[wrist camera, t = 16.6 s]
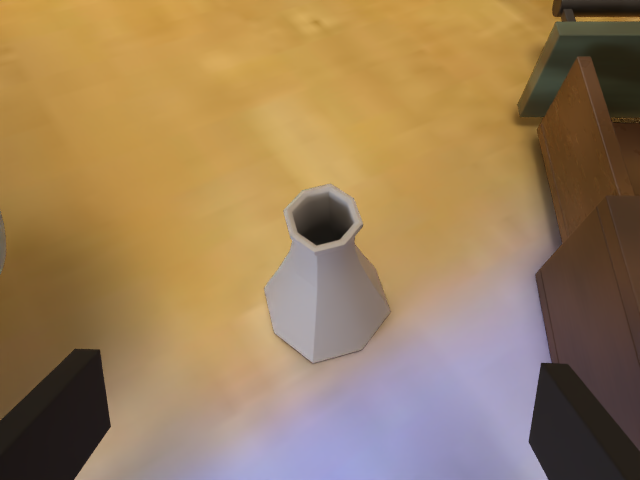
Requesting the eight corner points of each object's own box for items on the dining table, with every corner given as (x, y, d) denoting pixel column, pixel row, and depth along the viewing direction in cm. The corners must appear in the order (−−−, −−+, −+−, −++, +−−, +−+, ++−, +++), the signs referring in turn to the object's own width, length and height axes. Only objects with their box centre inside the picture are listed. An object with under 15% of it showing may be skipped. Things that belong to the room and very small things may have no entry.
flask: (308, 387, 27) (295, 333, 18) (244, 286, 30) (206, 196, 21) (411, 317, 29) (446, 236, 20) (341, 228, 31) (344, 123, 23)
